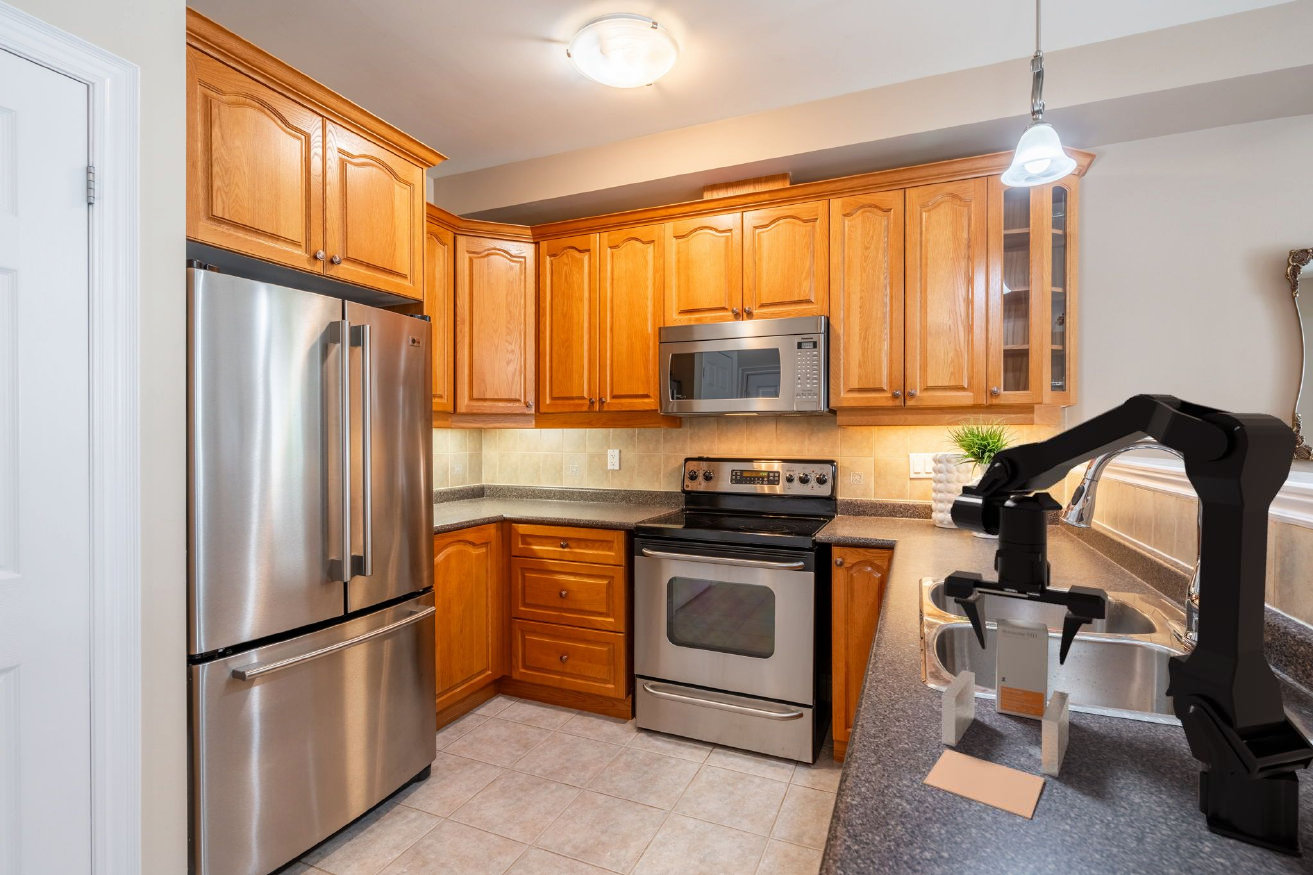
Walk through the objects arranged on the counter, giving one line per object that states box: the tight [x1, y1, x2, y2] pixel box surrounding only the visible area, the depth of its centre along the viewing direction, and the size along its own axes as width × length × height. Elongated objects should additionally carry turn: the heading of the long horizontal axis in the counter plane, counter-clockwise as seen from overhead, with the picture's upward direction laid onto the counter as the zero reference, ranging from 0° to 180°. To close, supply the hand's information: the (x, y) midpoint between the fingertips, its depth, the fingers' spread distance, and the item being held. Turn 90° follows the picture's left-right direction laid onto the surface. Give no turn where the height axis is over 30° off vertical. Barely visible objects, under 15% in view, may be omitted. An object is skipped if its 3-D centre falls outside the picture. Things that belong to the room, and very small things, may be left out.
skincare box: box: [995, 617, 1050, 722], centre depth 85 cm, size 6×4×12 cm
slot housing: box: [941, 669, 1070, 778], centre depth 77 cm, size 12×10×6 cm
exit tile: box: [922, 748, 1045, 820], centre depth 68 cm, size 10×9×1 cm
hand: (1021, 656), depth 85 cm, fingers open, 9 cm apart
